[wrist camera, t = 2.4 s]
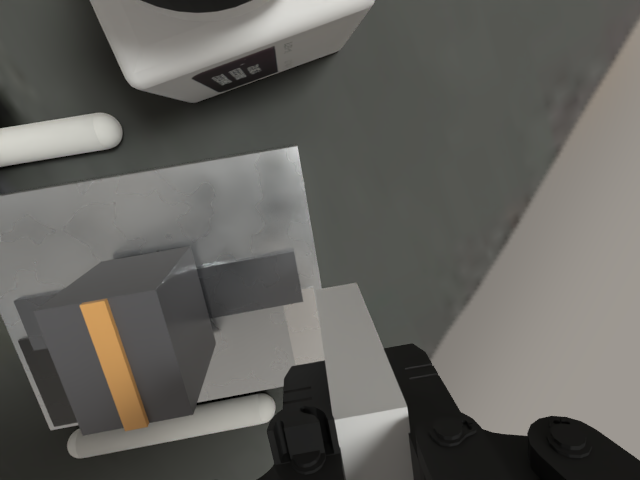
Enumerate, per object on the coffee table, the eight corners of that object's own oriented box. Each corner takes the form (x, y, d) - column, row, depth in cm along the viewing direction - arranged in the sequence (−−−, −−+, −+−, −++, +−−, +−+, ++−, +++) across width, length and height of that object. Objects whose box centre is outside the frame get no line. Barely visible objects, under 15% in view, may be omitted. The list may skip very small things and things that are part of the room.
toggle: (133, 358, 19) (80, 439, 14) (101, 261, 18) (29, 314, 13) (216, 343, 19) (192, 418, 14) (190, 246, 18) (153, 292, 13)
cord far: (81, 445, 23) (66, 468, 22) (72, 422, 23) (56, 444, 21) (277, 407, 24) (277, 427, 22) (272, 385, 23) (272, 403, 22)
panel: (70, 404, 23) (46, 434, 20) (-14, 196, 19) (-53, 205, 17) (332, 355, 23) (337, 379, 21) (296, 144, 20) (297, 146, 17)
